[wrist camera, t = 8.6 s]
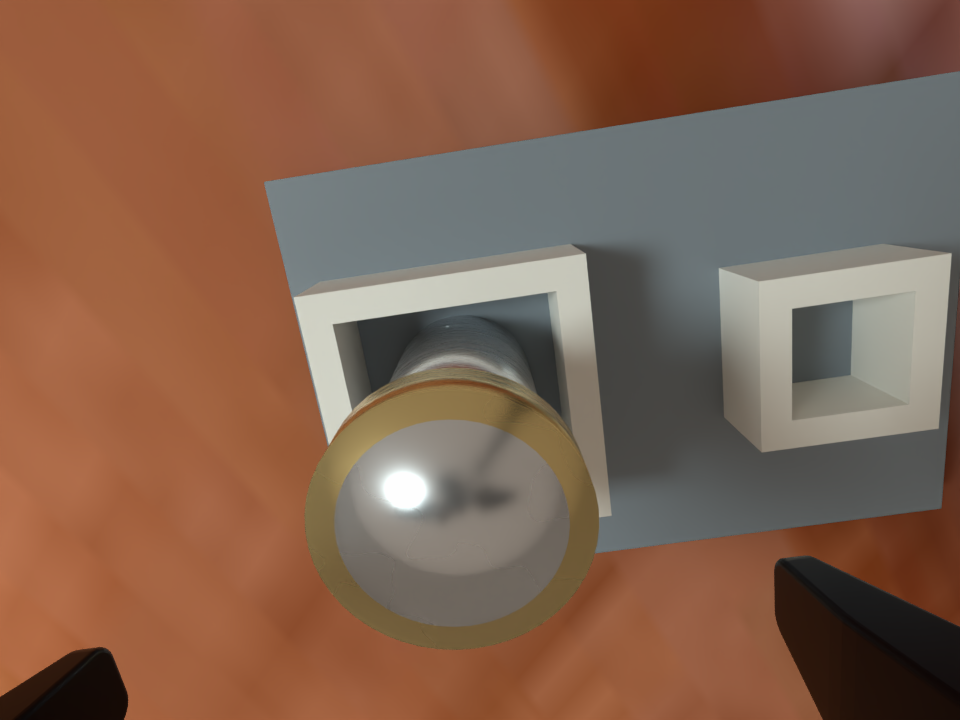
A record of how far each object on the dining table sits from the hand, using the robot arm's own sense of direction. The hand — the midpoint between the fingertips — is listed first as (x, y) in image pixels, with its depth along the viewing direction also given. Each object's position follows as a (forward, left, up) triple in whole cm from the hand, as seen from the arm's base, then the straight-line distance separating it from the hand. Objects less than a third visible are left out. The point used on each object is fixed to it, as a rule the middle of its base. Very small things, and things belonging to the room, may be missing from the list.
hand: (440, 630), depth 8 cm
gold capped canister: (0, 0, -10) cm, 10 cm away
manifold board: (-5, 0, -12) cm, 13 cm away
